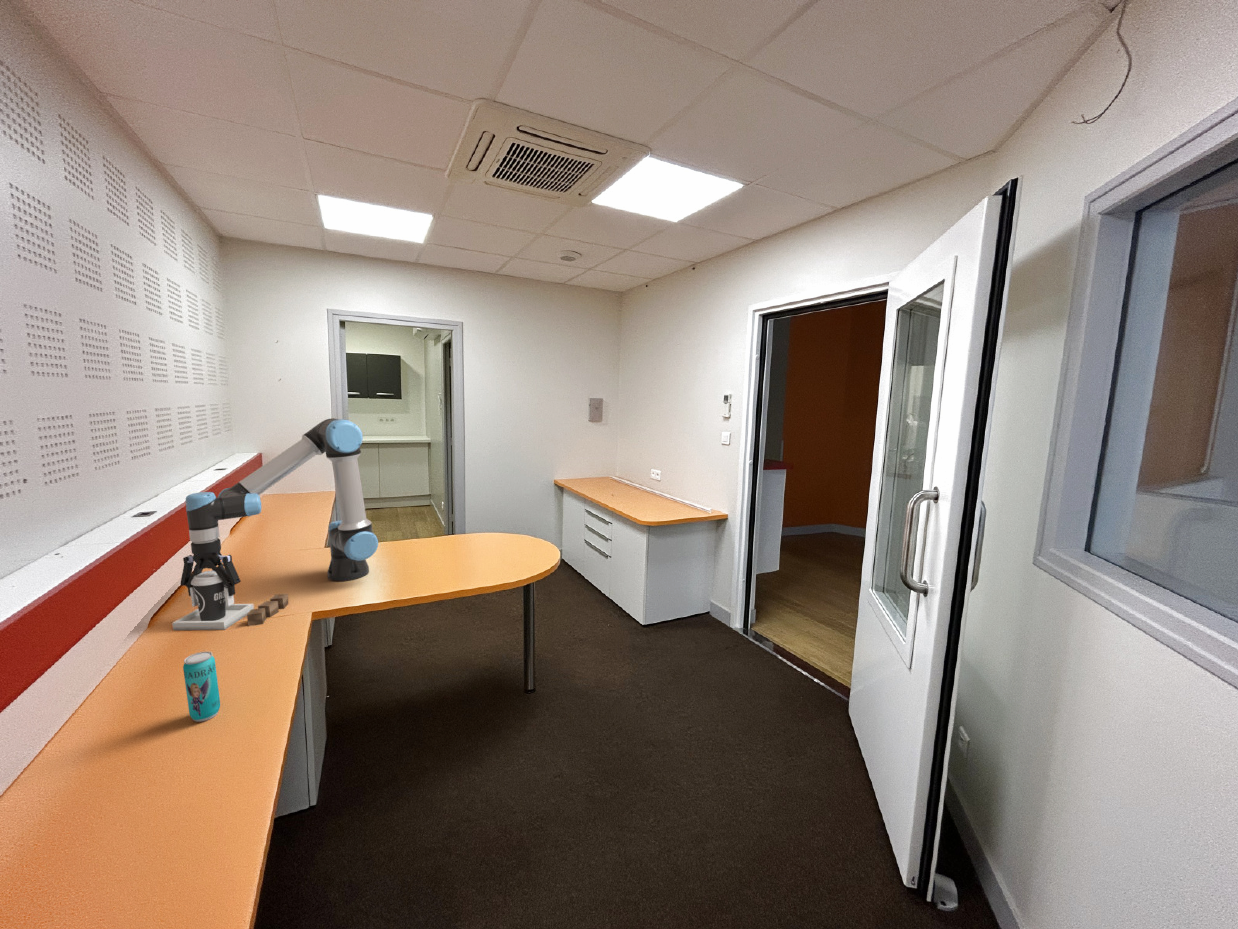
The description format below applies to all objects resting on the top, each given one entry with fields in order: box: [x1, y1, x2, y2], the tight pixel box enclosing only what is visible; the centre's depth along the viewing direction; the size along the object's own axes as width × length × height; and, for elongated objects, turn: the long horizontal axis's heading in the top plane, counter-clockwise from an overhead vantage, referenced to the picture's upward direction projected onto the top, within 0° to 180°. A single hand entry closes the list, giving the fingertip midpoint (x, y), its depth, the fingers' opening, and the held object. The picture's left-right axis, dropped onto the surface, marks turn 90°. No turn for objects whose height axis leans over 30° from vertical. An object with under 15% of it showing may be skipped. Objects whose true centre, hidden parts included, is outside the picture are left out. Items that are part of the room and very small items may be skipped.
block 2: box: [257, 600, 280, 618], centre depth 176 cm, size 4×4×4 cm
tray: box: [171, 603, 255, 631], centre depth 171 cm, size 16×14×2 cm
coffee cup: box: [191, 569, 226, 621], centre depth 170 cm, size 10×10×15 cm
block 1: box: [246, 608, 267, 627], centre depth 170 cm, size 4×4×4 cm
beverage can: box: [182, 651, 221, 723], centre depth 121 cm, size 6×6×15 cm
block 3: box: [269, 593, 290, 610], centre depth 181 cm, size 4×4×4 cm
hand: (213, 605), depth 171 cm, fingers open, 10 cm apart
